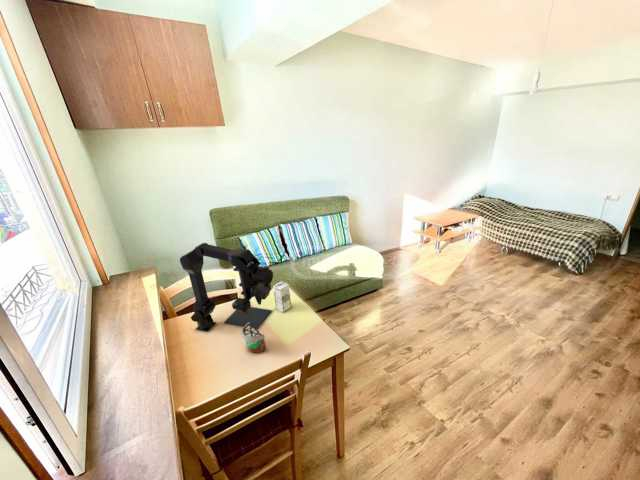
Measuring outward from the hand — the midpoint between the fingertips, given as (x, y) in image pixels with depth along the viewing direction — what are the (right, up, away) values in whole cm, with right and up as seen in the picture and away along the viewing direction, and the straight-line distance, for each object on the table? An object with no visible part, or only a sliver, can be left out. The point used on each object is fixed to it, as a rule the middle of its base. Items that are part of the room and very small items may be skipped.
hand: (254, 310), depth 121 cm
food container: (0, -17, 0) cm, 17 cm away
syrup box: (+7, -3, +26) cm, 27 cm away
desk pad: (-9, -7, +19) cm, 22 cm away
